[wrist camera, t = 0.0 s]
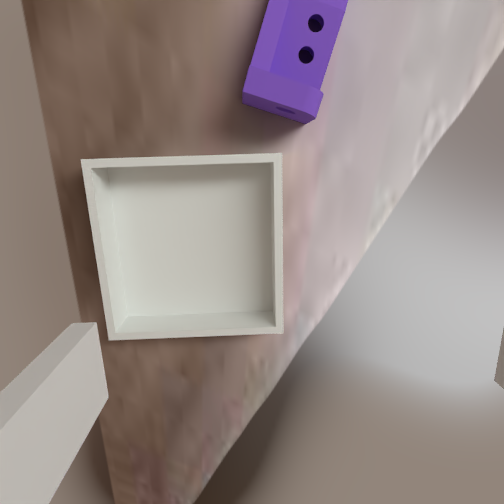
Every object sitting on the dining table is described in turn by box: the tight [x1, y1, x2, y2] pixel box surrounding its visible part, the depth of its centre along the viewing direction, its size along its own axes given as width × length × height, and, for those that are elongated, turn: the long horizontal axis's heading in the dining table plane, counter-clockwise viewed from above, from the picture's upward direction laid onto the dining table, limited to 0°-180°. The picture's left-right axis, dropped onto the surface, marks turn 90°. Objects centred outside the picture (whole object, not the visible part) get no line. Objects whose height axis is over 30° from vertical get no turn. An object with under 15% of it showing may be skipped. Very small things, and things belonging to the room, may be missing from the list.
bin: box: [81, 153, 283, 340], centre depth 36 cm, size 19×19×5 cm
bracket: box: [242, 0, 348, 124], centre depth 31 cm, size 12×7×7 cm, turn 163°
